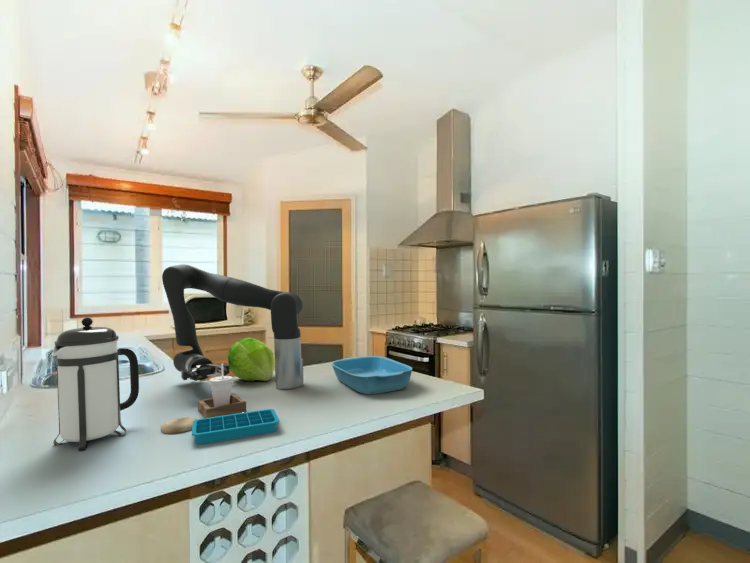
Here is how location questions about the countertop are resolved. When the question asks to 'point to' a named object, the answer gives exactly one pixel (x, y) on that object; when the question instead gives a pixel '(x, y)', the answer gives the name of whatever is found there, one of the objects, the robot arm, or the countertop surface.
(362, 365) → the casserole dish
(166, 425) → the trivet
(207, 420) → the ice cube tray
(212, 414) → the square wooden frame
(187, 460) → the countertop surface
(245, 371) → the lettuce
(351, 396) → the countertop surface
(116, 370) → the coffee press
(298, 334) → the robot arm
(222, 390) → the smoothie
